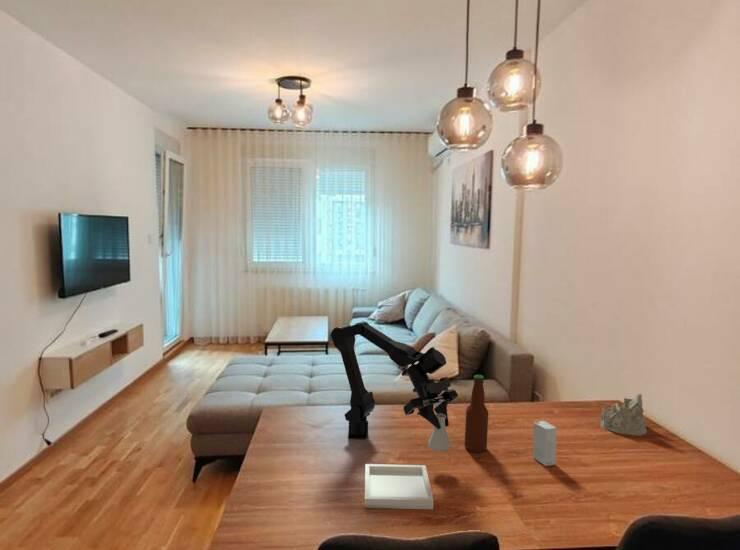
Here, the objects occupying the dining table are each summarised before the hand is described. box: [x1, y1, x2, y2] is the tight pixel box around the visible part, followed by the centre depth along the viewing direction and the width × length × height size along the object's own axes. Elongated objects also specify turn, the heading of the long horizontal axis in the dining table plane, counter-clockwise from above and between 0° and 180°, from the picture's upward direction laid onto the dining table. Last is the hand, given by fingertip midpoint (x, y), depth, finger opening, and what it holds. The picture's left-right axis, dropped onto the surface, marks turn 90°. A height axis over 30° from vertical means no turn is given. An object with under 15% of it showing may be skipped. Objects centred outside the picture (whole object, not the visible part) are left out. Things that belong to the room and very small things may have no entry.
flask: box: [427, 413, 452, 452], centre depth 143 cm, size 7×7×10 cm
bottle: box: [464, 374, 489, 453], centre depth 156 cm, size 7×7×25 cm
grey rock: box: [599, 393, 648, 437], centre depth 177 cm, size 16×16×15 cm
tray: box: [364, 463, 434, 510], centre depth 131 cm, size 18×18×2 cm
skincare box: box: [532, 420, 558, 467], centre depth 149 cm, size 6×4×12 cm
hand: (443, 427), depth 142 cm, fingers closed on flask, 3 cm apart
